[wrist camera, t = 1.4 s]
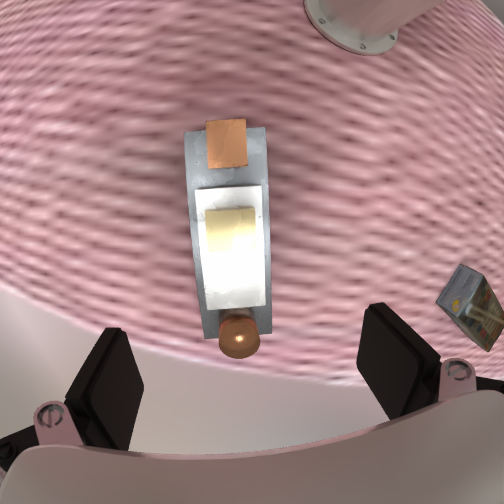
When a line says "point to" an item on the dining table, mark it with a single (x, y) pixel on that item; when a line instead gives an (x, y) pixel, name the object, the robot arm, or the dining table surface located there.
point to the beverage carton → (473, 306)
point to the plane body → (197, 176)
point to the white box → (231, 245)
